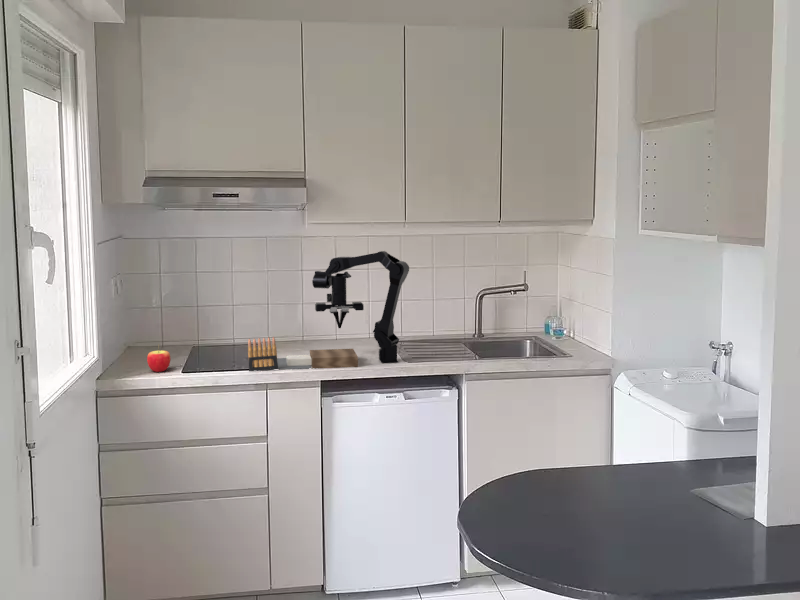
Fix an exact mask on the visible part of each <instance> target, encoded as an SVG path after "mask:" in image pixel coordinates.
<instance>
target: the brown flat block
mask: <svg viewBox="0 0 800 600" xmlns="http://www.w3.org/2000/svg"><path fill="white" fill-rule="evenodd" d="M309 355H310V356H311V359H312V365H311V369H313V368H318V369H339V368H358V367H359V356H358V354H357V353H356V351H355V349H354V348H334V349H330V348H329V349H310V350H309Z"/></svg>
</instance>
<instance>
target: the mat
mask: <svg viewBox="0 0 800 600" xmlns="http://www.w3.org/2000/svg"><path fill="white" fill-rule="evenodd" d="M277 362H278V369H292V370H310V369H309V368H311V369H312V365H298V366H288V365H287V362H286V357H280V358H279V357H277Z"/></svg>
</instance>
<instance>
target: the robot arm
mask: <svg viewBox="0 0 800 600" xmlns="http://www.w3.org/2000/svg"><path fill="white" fill-rule="evenodd" d="M373 263H380V264H381V265H382V266H383V267H384V268H385V269H386V270H387V271H388V272H389V275H388V277H389V287H388V291H387V295H386V299H385V303H384V306H383V307H384V309H383V312H382V315H381V319H380V320H378V321H375V323H374V329H373V331H372V333H373V338H374V339H375V341H376V342H377V344H378V347H379V348H378V361H380V363H382V364H386V363H387V364H388V363H391V364H392V363H399V360H398V344H399V341H400V338H399V337H398V336H397V335H396V334H395V333H394V329H395V326H394V324H395V323H394V318H395V313H396V308H397V306H398V305H397V304H398V301H399V296H400V292H401V290H402V289H401V288H402V286H403V284H404V282H405V280H406V279H407V276H408V274H409V272H410V266H409V264H408V263H407V262H406V261H402V260H400V259H398V258H397V257H395V256H393V255H391V254H390V253H388V252H387V251H386V250H380V251H377V252H375V253H374V252H373V253H369V254H364V255H358V256H338V257H333V258H331V259H330V261H329V265H328V267H327V268H326V270H325V271H321V270H315V271H314V275H313V277H312V280H311V281H312V283H311V284H312V286H313V289H327V290H328V289H330V287H331V293H326V302H327V303H331V304H326V302H316V303H314V310H315V312H325V311H326V310H329V313H330V314H332V315H333V316H334V318H335V322H336V324H337V327H338V329H341V328H342V326H343V322H344V320H345V317H346V316H347V314H349V313H350V311H349V310H350V309H353V310H355V311H365V309H364V307H365V306H364V303H363V302H362V301H352V303H347V279H350V278H352V275H351V274H350V273H349V272H348V271H347V270H349V269H352V268H354V267H357V266H364V265H370V264H373ZM340 272H343V273H340ZM338 310H340V311H338ZM339 312H340V313H339Z"/></svg>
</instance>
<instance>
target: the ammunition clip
mask: <svg viewBox="0 0 800 600" xmlns="http://www.w3.org/2000/svg"><path fill="white" fill-rule="evenodd" d="M247 340H248V341H247V342H248V343H247V354H248V355H247V356H248V359H247V360H248V372H254V370H257V371H267V370H268V371H269V370H273V369H278V362H277V358H278V353H277V352H278V351H277V350H278V349H277V344H276V339H275V336H272V340H271V339H270V337H269V336H268V337H267V343H266V338H265V337H263V338H262V342H261V338H260V337H258V339H257V341H256V339H255V337H254V338H253V340H252V342H251V339H250V338H248V339H247ZM271 341H272V342H271Z"/></svg>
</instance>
